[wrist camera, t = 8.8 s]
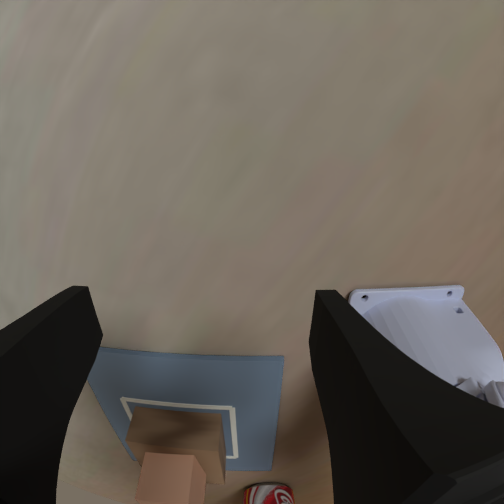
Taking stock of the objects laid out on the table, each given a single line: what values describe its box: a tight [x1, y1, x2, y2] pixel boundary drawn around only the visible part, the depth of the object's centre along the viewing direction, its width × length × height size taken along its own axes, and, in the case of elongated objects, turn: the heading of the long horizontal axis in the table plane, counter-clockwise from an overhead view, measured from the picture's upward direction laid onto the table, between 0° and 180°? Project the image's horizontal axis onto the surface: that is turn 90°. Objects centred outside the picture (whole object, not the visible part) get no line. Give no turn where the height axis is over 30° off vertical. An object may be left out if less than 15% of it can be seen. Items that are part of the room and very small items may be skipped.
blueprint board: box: [87, 347, 284, 471], centre depth 27 cm, size 17×20×1 cm
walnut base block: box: [125, 406, 226, 484], centre depth 26 cm, size 8×8×4 cm
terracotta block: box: [135, 452, 206, 504], centre depth 21 cm, size 4×4×5 cm
